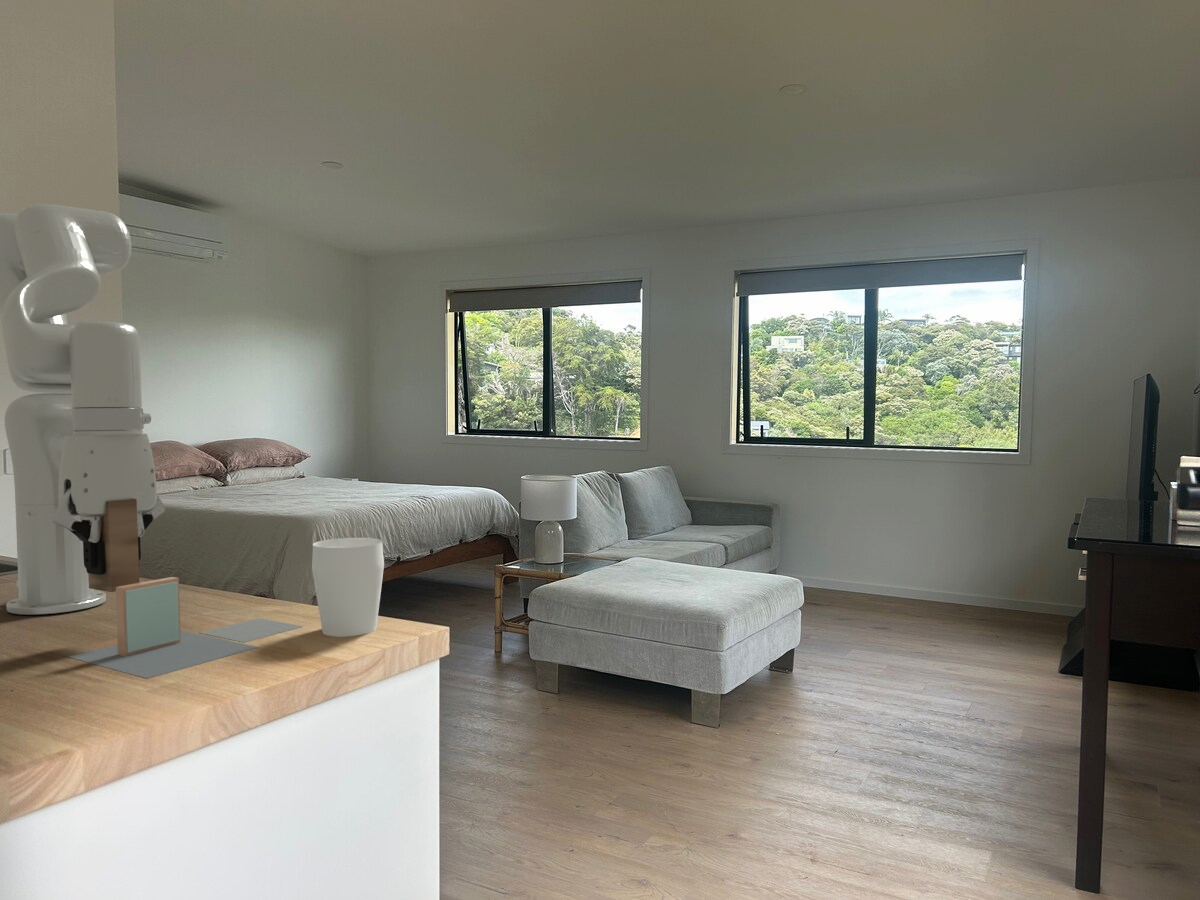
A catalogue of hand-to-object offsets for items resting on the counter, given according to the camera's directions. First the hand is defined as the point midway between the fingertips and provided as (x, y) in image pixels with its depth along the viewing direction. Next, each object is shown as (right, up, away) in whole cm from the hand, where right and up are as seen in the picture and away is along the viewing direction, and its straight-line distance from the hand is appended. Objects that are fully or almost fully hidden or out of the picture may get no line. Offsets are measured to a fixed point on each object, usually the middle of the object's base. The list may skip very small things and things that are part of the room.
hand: (113, 569), depth 108 cm
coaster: (+15, -9, +5) cm, 18 cm away
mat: (+9, -10, -5) cm, 14 cm away
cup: (+28, -9, +5) cm, 30 cm away
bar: (0, -2, 0) cm, 2 cm away
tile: (+6, -9, -3) cm, 11 cm away
